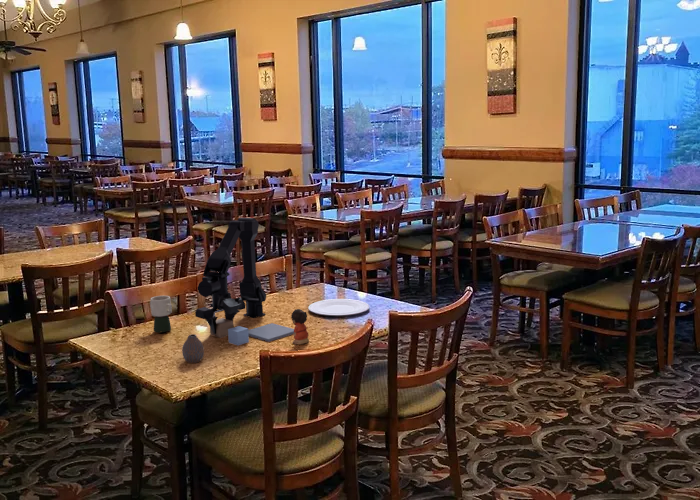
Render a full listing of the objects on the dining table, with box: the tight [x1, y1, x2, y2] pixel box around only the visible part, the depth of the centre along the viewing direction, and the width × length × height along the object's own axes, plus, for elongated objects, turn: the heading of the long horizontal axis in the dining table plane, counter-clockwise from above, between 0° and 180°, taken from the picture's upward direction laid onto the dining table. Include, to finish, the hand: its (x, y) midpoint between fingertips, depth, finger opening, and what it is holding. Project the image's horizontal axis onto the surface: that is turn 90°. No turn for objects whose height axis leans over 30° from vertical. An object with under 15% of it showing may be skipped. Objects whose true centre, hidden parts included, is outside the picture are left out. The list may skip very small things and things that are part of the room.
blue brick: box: [227, 325, 250, 346], centre depth 249 cm, size 5×5×5 cm
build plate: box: [248, 322, 294, 343], centre depth 259 cm, size 14×14×1 cm
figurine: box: [290, 308, 310, 345], centre depth 247 cm, size 6×6×12 cm
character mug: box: [149, 295, 173, 333], centre depth 262 cm, size 11×7×13 cm, turn 57°
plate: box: [308, 298, 370, 318], centre depth 288 cm, size 25×25×2 cm
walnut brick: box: [209, 317, 234, 339], centre depth 258 cm, size 6×6×5 cm
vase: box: [181, 333, 205, 364], centre depth 230 cm, size 7×7×9 cm
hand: (221, 331), depth 258 cm, fingers closed on walnut brick, 6 cm apart
